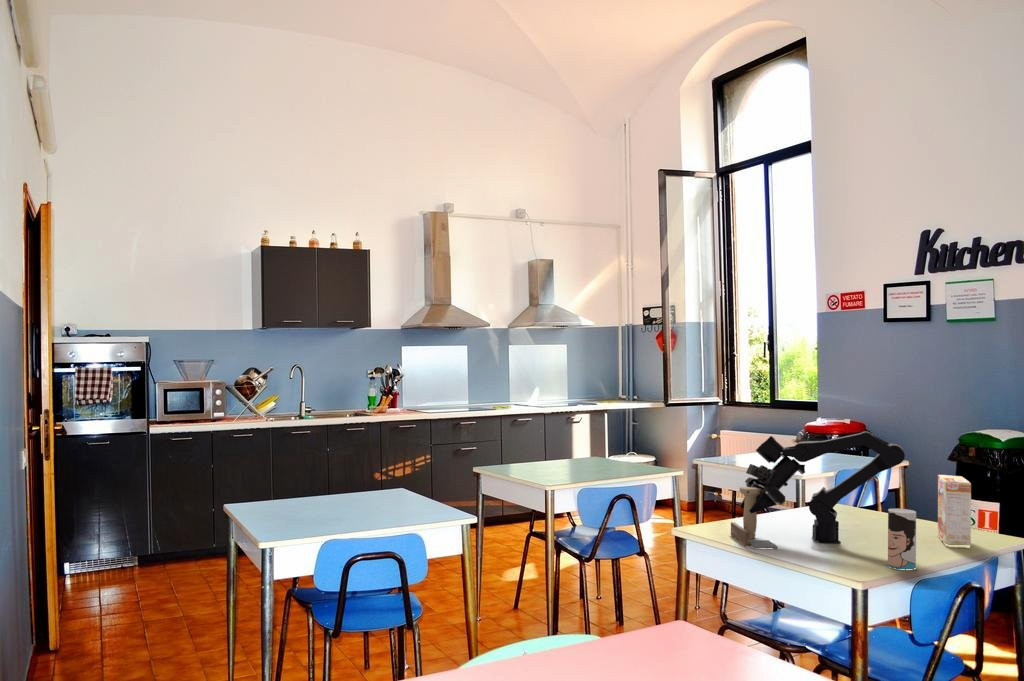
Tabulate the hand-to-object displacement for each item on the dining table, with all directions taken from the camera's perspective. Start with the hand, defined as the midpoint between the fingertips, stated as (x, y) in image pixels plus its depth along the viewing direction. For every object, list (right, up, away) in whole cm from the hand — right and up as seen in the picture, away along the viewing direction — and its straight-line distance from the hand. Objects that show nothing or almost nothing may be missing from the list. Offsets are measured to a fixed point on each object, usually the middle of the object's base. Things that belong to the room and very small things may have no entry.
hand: (745, 509), depth 252 cm
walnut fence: (-3, -8, -5) cm, 10 cm away
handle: (+1, -9, 0) cm, 9 cm away
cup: (+32, -9, -33) cm, 47 cm away
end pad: (+2, -8, -11) cm, 14 cm away
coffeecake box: (+62, -10, -3) cm, 63 cm away
